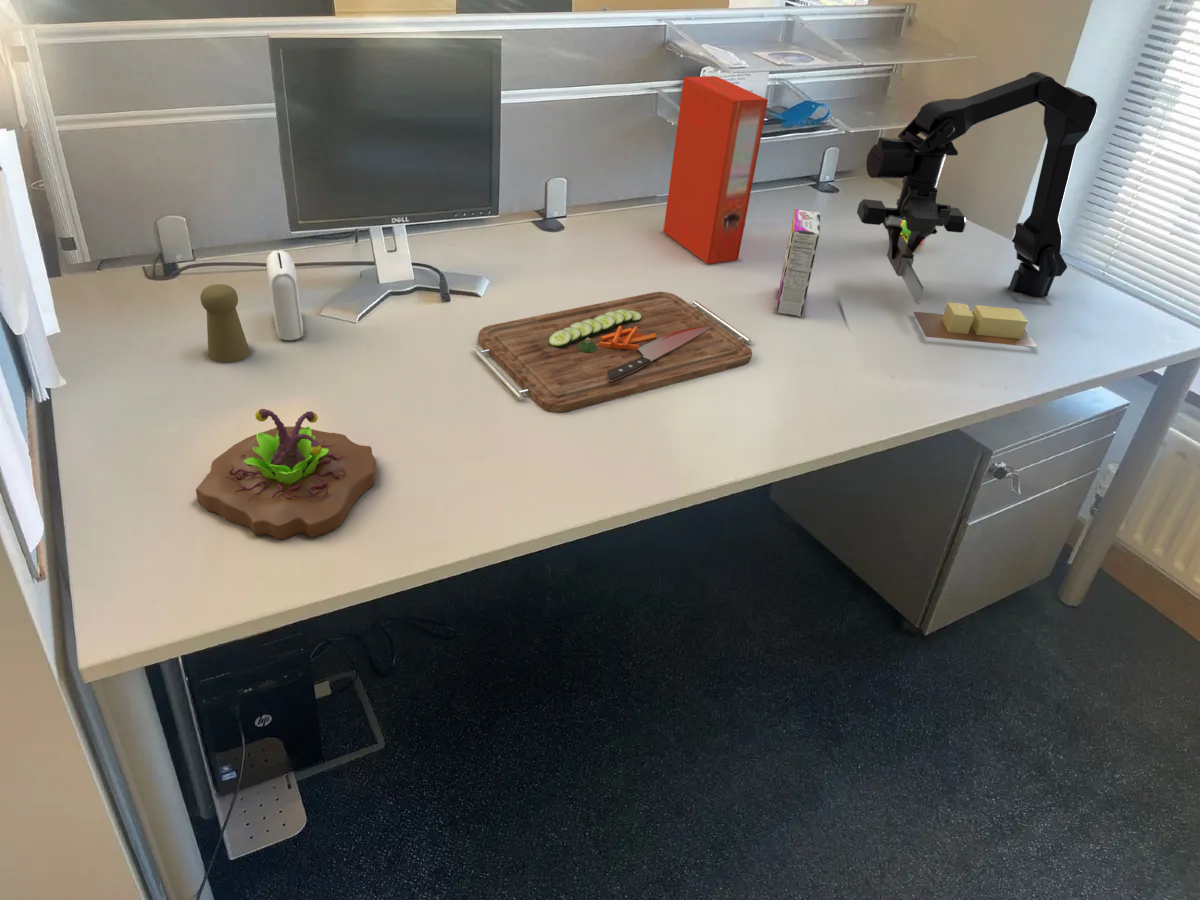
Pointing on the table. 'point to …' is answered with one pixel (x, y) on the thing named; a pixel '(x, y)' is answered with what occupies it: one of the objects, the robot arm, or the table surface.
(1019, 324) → the butter block
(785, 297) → the candy bar box
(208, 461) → the table surface
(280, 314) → the photo printer
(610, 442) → the table surface
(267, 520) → the plant
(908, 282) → the knife
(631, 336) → the chopping board
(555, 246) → the table surface
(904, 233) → the toy measuring tape
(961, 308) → the butter slice
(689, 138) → the file binder
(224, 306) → the olive brown pawn
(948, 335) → the butter board
